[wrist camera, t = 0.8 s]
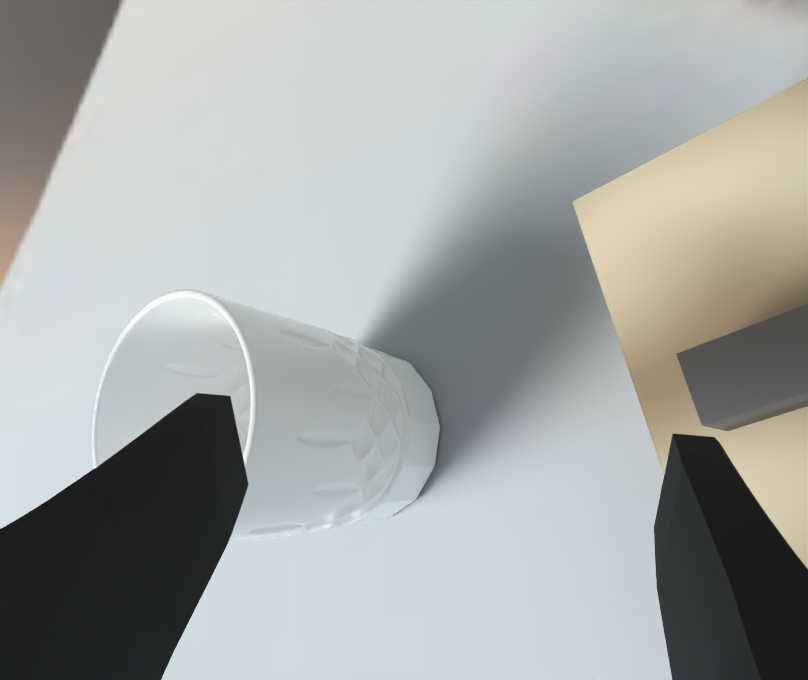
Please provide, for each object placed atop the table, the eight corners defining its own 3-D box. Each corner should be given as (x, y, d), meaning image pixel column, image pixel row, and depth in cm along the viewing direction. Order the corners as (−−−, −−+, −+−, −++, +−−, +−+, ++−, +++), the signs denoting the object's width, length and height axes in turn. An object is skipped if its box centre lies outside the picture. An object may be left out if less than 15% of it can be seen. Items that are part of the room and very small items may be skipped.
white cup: (449, 323, 30) (255, 263, 22) (460, 534, 28) (255, 551, 20) (301, 354, 34) (96, 314, 26) (303, 537, 33) (84, 552, 25)
